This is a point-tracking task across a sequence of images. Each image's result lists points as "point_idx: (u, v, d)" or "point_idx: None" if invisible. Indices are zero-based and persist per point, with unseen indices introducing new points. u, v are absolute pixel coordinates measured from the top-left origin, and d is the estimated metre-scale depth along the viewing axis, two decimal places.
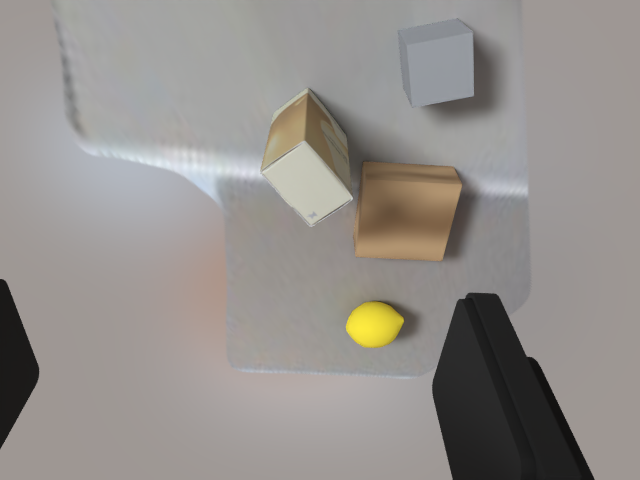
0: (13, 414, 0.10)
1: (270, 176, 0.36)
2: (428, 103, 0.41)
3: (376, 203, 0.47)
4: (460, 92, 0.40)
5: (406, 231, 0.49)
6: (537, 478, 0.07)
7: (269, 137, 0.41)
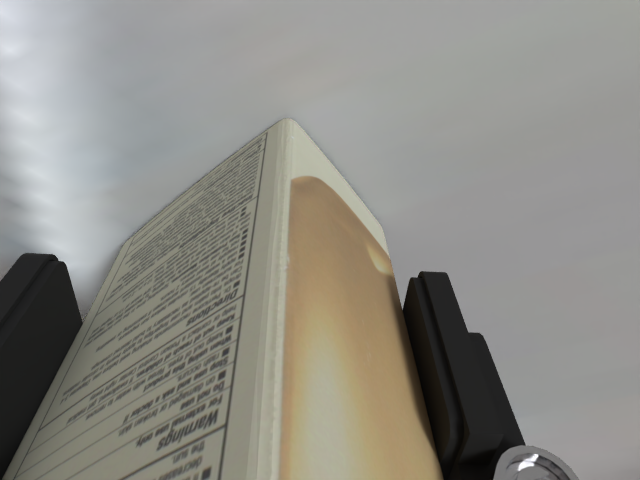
0: None
1: None
2: None
3: None
4: None
5: None
6: (464, 437, 0.07)
7: (297, 283, 0.07)
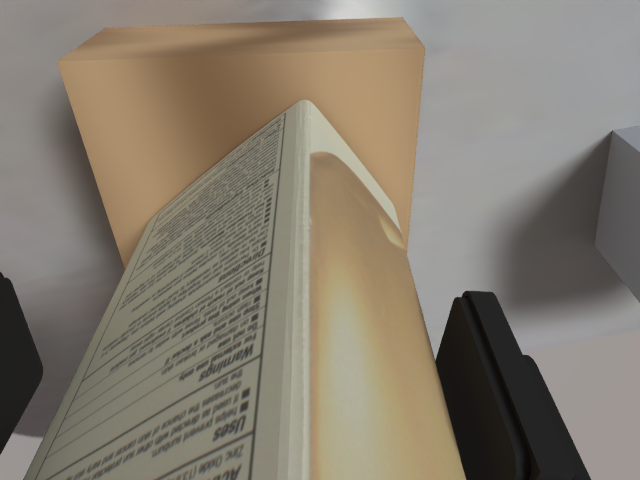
0: (17, 412, 0.10)
1: None
2: None
3: (321, 103, 0.13)
4: None
5: None
6: (532, 475, 0.07)
7: (319, 242, 0.08)
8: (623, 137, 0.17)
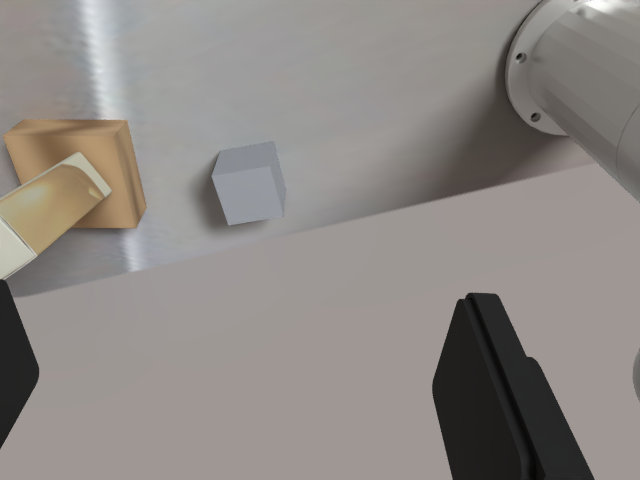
0: (13, 414, 0.10)
1: None
2: (217, 189, 0.42)
3: (86, 150, 0.41)
4: (230, 214, 0.44)
5: None
6: (537, 478, 0.07)
7: (44, 177, 0.36)
8: (219, 153, 0.45)
